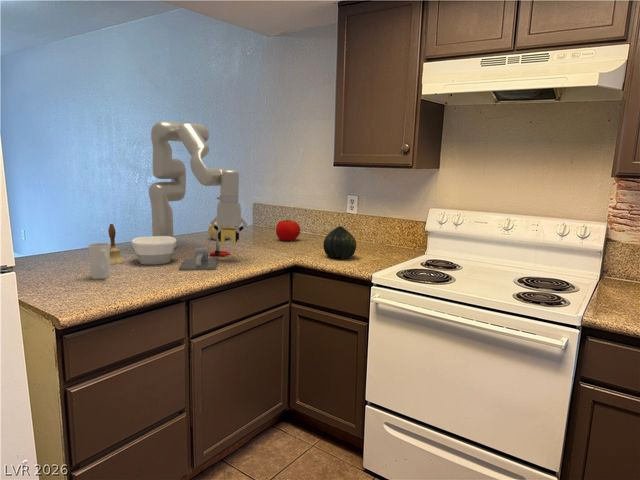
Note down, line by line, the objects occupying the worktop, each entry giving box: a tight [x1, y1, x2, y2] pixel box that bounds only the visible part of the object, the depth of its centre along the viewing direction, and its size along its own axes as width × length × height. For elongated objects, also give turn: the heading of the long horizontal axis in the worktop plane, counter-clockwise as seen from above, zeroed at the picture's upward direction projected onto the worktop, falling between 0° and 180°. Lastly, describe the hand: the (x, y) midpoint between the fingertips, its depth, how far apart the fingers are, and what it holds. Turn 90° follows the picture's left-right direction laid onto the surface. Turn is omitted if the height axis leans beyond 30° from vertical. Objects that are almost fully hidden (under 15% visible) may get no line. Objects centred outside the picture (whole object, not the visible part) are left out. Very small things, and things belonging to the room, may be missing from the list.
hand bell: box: [108, 223, 126, 265], centre depth 184 cm, size 8×8×16 cm
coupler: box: [178, 247, 220, 271], centre depth 184 cm, size 14×18×5 cm
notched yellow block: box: [220, 227, 237, 246], centre depth 192 cm, size 6×8×6 cm
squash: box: [322, 225, 357, 260], centre depth 206 cm, size 14×15×15 cm
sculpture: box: [207, 222, 230, 241], centre depth 244 cm, size 11×12×11 cm
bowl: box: [131, 235, 178, 266], centre depth 188 cm, size 18×18×9 cm
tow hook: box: [209, 232, 231, 257], centre depth 205 cm, size 8×13×9 cm
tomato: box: [275, 219, 301, 242], centre depth 246 cm, size 12×13×12 cm
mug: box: [88, 242, 111, 280], centre depth 160 cm, size 10×7×12 cm, turn 45°
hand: (228, 240), depth 192 cm, fingers closed on notched yellow block, 6 cm apart
